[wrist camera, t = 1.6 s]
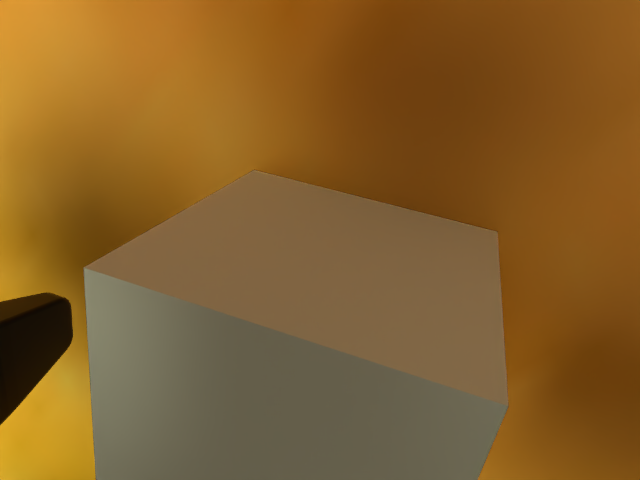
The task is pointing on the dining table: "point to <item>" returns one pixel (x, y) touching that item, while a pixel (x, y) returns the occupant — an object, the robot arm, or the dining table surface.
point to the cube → (296, 341)
